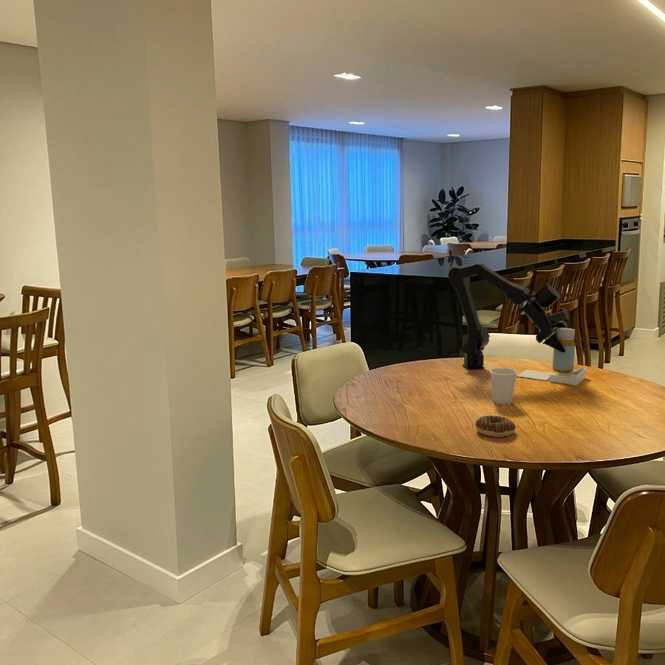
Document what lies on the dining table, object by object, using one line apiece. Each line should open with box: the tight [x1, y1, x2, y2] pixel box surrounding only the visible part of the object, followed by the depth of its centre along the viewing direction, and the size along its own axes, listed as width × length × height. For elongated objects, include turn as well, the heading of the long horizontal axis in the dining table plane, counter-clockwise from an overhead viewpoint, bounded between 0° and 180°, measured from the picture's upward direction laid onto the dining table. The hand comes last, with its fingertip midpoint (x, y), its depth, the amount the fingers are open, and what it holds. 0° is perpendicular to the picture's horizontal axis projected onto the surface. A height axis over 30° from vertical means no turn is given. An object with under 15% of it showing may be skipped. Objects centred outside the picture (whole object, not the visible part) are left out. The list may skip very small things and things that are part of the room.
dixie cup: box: [489, 367, 518, 405], centre depth 206 cm, size 8×8×10 cm
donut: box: [475, 415, 516, 438], centre depth 179 cm, size 11×11×4 cm
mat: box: [516, 369, 557, 382], centre depth 238 cm, size 11×11×1 cm
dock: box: [549, 367, 587, 386], centre depth 232 cm, size 9×12×4 cm
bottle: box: [551, 327, 576, 374], centre depth 231 cm, size 7×7×15 cm
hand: (567, 350), depth 230 cm, fingers closed on bottle, 7 cm apart
